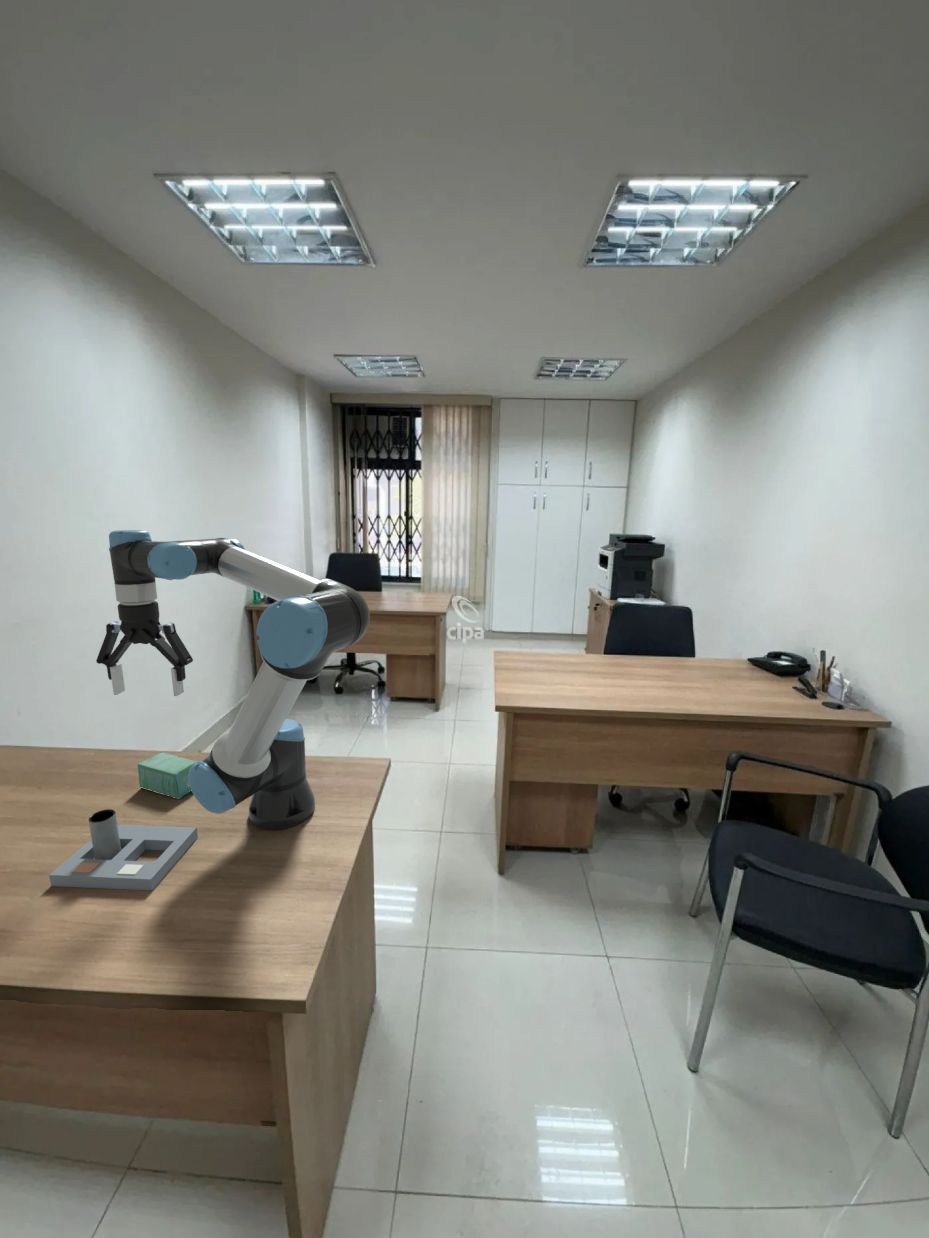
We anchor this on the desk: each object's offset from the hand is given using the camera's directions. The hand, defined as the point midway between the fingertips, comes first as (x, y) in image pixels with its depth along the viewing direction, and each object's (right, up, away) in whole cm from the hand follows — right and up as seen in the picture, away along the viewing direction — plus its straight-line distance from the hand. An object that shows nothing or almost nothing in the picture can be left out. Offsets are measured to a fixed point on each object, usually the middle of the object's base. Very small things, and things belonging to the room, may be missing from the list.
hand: (149, 693), depth 115 cm
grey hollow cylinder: (-3, -34, -9) cm, 35 cm away
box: (-5, -28, +18) cm, 33 cm away
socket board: (+2, -33, -9) cm, 35 cm away
